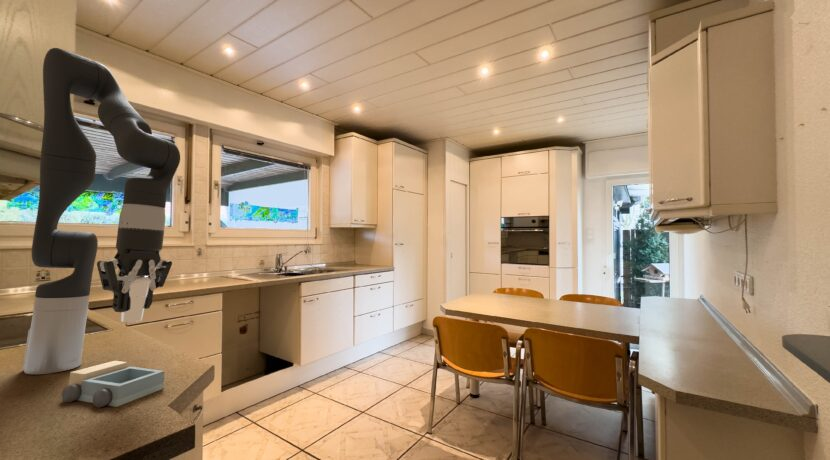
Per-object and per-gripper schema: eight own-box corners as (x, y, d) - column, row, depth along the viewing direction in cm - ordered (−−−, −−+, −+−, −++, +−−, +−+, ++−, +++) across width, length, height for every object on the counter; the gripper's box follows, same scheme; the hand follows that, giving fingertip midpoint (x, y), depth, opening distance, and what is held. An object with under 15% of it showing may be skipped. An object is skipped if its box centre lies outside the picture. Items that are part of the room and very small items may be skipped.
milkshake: (149, 318, 72) (155, 271, 73) (142, 322, 67) (149, 273, 68) (122, 318, 70) (129, 271, 71) (113, 323, 65) (120, 272, 66)
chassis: (56, 400, 63) (59, 375, 63) (120, 380, 74) (122, 358, 75) (109, 409, 60) (112, 382, 61) (167, 386, 71) (170, 364, 72)
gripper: (119, 224, 62) (108, 317, 61) (186, 231, 76) (178, 306, 75) (88, 223, 64) (77, 314, 62) (160, 230, 77) (151, 304, 76)
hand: (132, 309), depth 68 cm, fingers closed on milkshake, 4 cm apart
